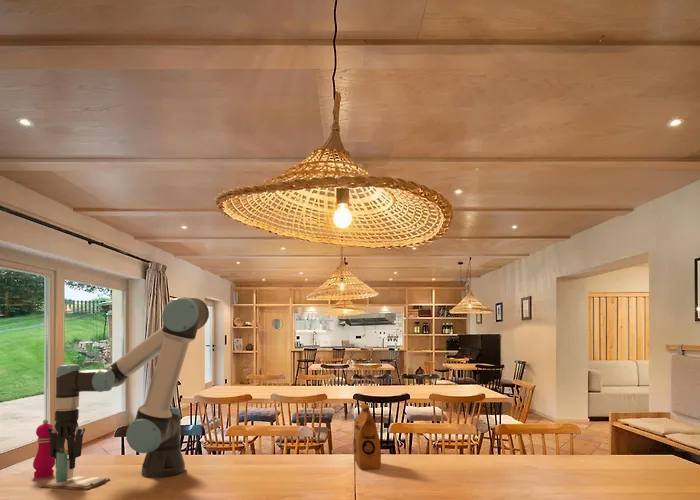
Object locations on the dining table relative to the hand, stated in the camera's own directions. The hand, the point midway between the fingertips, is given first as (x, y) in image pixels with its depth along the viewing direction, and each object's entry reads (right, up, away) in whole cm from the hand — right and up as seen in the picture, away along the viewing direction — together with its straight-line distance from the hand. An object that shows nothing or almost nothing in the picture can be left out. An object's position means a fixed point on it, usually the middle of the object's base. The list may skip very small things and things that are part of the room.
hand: (64, 478), depth 205 cm
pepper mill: (-12, -3, +9) cm, 15 cm away
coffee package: (+105, -1, +14) cm, 106 cm away
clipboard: (+5, -1, -2) cm, 5 cm away
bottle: (0, 0, -2) cm, 2 cm away
